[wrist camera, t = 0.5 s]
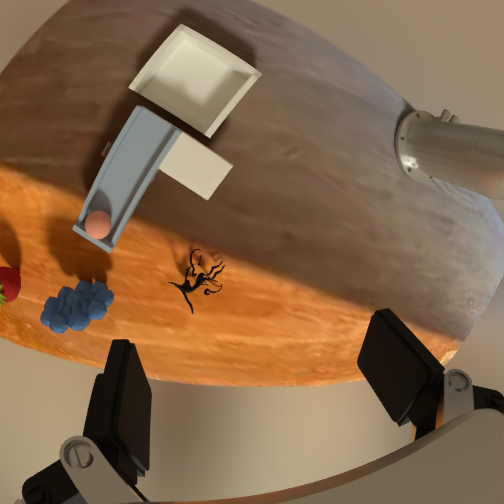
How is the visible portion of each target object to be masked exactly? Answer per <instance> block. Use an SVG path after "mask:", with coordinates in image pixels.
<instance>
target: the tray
mask: <svg viewBox="0 0 504 504" xmlns="http://www.w3.org/2000/svg"><path fill="white" fill-rule="evenodd" d="M261 74H262V73H260V72H259V71H257V70H256V69H255V68H253V67H252V66H250V65H249V64H247V63H246V62H244V61H243V60H241V59H240V58H238V57H237V56H235V55H234V54H232V53H231V52H229V51H228V50H226V49H224V48H223V47H221V46H220V45H218V44H216V43H215V42H213V41H211V40H210V39H208V38H206V37H204V36H203V35H201V34H199V33H197V32H196V31H194V30H192V29H190V28H188V27H186V26H184V25H183V24H180V25H179V26H178V27H177V28H176V29H175V30H174V31H173V33H172V34H171V35H170V36H169V37H168V38H167V39H166V40H165V41H164V43H163V44H162V45H161V46H160V47H159V48H158V50H157V51H156V52H155V53H154V54H153V56H152V57H151V58H150V59H149V61H148V62H147V63H146V64H145V66H144V67H143V68H142V70H141V71H140V72H139V73H138V75H137V76H136V78H135V79H134V80H133V82H132V83H131V84H130V86H129V87H128V88H130V89H132V90H133V91H135V92H137V93H139V94H140V95H142V96H144V97H146V98H147V99H149V100H151V101H152V102H154V103H156V104H157V105H159V106H160V107H162V108H164V109H165V110H167V111H169V112H170V113H172V114H173V115H175V116H177V117H178V118H180V119H181V120H183V121H184V122H186V123H188V124H189V125H191V126H192V127H194V128H195V129H197V130H198V131H200V132H201V133H203V134H204V135H206V136H207V137H209V138H210V137H211V136H212V135H213V133H214V132H215V131H216V129H217V128H218V127H219V126H220V124H221V123H222V122H223V120H224V119H225V118H226V117H227V115H228V114H229V113H230V111H231V110H232V109H233V108H234V106H235V105H236V104H237V103H238V102H239V100H240V99H241V98H242V97H243V96H244V94H245V93H246V92H247V91H248V90H249V88H250V87H251V86H252V85H253V84H254V83H255V81H256V80H257V79H258V78H259V77H260V76H261Z"/></svg>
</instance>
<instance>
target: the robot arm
mask: <svg viewBox="0 0 504 504" xmlns="http://www.w3.org/2000/svg"><path fill="white" fill-rule="evenodd" d="M449 116H450V112H449V111H448V110H446V109H445V110H444V111H443V113H442V115H441V116H440V117H434V116H433V115H432V114H430V113H428V112H425V111H412V112H410V113H408V114H407V115H406V116H405V117H404V118H403V119H402V121H401V122H400V124H399V126H398V129H397V133H396V139H395V149H396V155H397V159H398V162H399V164H400V166H401V168H402V170H403V171H404V173H405V174H406V175H407V176H408V177H410V178H411V179H413V180H416V181H418V182H428V181H431V180H432V179H434V178H438V179H441V180H443V181H446V182H449V183H452V184H455V185H457V186H460V187H463V188H465V189H468V190H471V191H473V192H476V193H478V194H481V195H483V196H485V197H488V198H490V199H493V200H504V131H503V130H498V129H493V128H487V127H481V126H474V125H468V124H461V123H460V119H459V118H458V117H457V116H455V115H452V116H451V118H450V120H449V122H446V120H447V119H448V118H449ZM357 364H358V367H359V369H360V370H361V372H362V373H363V375H364V376H365V378H366V379H367V381H368V382H369V384H370V385H371V387H372V389H373V390H374V392H375V393H376V395H377V397H378V398H379V400H380V401H381V403H382V404H383V406H384V408H385V409H386V411H387V412H388V414H389V416H390V417H391V419H392V420H393V421H394V422H397V424H398V425H399V427H400V426H402V425H404V424H406V423H408V422H409V421H411V422H412V430H411V436H410V441H409V444H408V445H406V446H404V447H403V448H400V449H398V450H396V451H394V452H392V453H390V454H388V455H386V456H384V457H381V458H379V459H377V460H375V461H372V462H370V463H367V464H365V465H363V466H360V467H358V468H355V469H352V470H350V471H347V472H344V473H341V474H339V475H336V476H332V477H329V478H326V479H323V480H320V481H316V482H313V483H309V484H305V485H302V486H298V487H294V488H289V489H285V490H281V491H276V492H271V493H265V494H260V495H253V496H247V497H239V498H231V499H221V500H209V501H189V502H151V501H150V500H149V499H148V498H147V497H146V496H145V495H144V494H143V492H141V490H140V489H139V488H138V487H137V486H136V484H137V476H143V477H145V470H149V456H150V455H149V454H150V453H149V452H150V418H151V401H152V400H151V399H152V393H151V388H150V385H149V383H148V380H147V378H146V375H145V372H144V370H143V367H142V364H141V361H140V359H139V356H138V353H137V350H136V347H135V344H134V343H130V342H129V340H128V339H114V340H113V341H112V344H111V347H110V351H109V354H108V358H107V362H106V366H105V369H104V373H103V374H98V375H97V376H96V379H95V382H94V387H93V390H92V394H91V398H90V403H89V407H88V411H87V416H86V421H85V426H84V431H83V436H73V437H71V438H69V439H67V440H66V441H64V443H63V444H62V446H61V448H60V459H59V460H58V461H57V462H55V463H53V464H51V465H50V466H48V467H47V468H45V469H43V470H42V471H40V472H38V473H37V474H35V475H34V476H32V477H30V478H29V479H27V480H26V481H25V482H24V484H23V487H22V495H23V498H22V500H20V499H18V500H17V501H16V502H15V503H14V504H504V396H503V395H502V394H501V393H500V392H498V391H496V390H492V389H488V388H483V387H479V386H474V385H472V381H471V379H470V377H469V376H468V375H467V374H466V373H465V372H464V371H462V370H458V369H452V370H449V371H448V372H447V373H446V374H445V375H444V373H443V372H444V370H445V368H444V367H443V366H442V365H441V364H440V363H439V361H438V360H437V359H436V358H435V357H434V356H433V355H432V354H431V352H430V351H429V350H428V349H427V348H426V347H425V346H424V345H423V344H422V343H421V341H420V340H419V339H418V338H417V337H416V336H415V335H414V334H413V333H412V332H411V331H410V330H409V328H408V327H407V326H406V325H405V324H404V323H403V322H402V321H401V320H400V319H399V318H398V317H397V316H396V315H395V314H394V313H393V312H392V311H391V310H390V309H388V308H386V309H382V310H377V311H375V313H374V315H372V317H371V320H370V323H369V326H368V330H367V333H366V336H365V339H364V342H363V345H362V348H361V351H360V354H359V356H358V360H357Z"/></svg>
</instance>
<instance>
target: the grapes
mask: <svg viewBox="0 0 504 504" xmlns="http://www.w3.org/2000/svg"><path fill="white" fill-rule="evenodd" d="M113 300H114V294H113V292H112V291H110V290H108V287H107V285H106V284H105V283H103V282H100V281H96V282H95V283H94V284H93V285H91V283H89V282H87V281H82V280H81V281H80V282H79V283H78V285H77V286H76V288H75V291H74V290H73V289H72V288H70V287H65V286H63V288H62V289H61V290H60V291H59V293H58V298H56V297H49V298H48V299H47V301H46V303H45V305H44V311H43V312H42V314H41V318H40V321H41V322H42V324H43V325H45V326H49V327H50V329H51V331H53V332H55V333H64V332H65V331H66V330H67V329H68V327H70V328H71V329H73V330H76V331H82V330H84V329H85V328H86V327H87V326H88V325H89V323H90V321H91V319H94V320H100V319H102V318H103V317H104V316H105V314H106V312H107V307H108V306H109V305H110V304H111V303H112V302H113Z"/></svg>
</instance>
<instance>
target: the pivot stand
mask: <svg viewBox="0 0 504 504" xmlns="http://www.w3.org/2000/svg"><path fill="white" fill-rule="evenodd" d="M114 143H115V141H110V142H108V143H107V145H106V147H105V148H104V150H103V152H102V154H101V155H102V156H104V157H105V158H106V157H107V155H108V153H109V152H110V150H111V148H112V146H113V144H114ZM160 173H161V170H160V169H158V171H157V172H156V176H155V177H154V179H153V180H152V181H151V182H150V185H151V184H152V183H154V182H155V180H156V179H157V177H158V176H159V174H160Z"/></svg>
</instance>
